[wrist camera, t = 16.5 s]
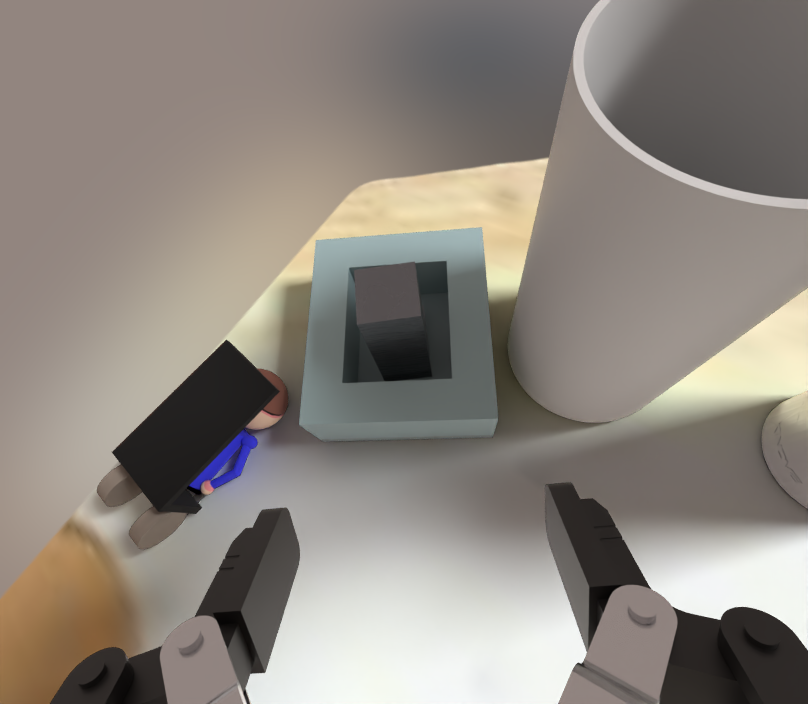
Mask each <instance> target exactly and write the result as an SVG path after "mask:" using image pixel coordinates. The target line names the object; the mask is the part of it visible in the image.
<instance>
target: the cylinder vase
mask: <svg viewBox="0 0 808 704" xmlns="http://www.w3.org/2000/svg"><path fill="white" fill-rule="evenodd" d="M807 288H808V0H600V1H599V2H598V3H597V4H596V5H595V7H594V8H593V9H592V10H591V12H590V13H589V14H588V16H587V17H586V19H585V21H584V22H583V24H582V26H581V28H580V30H579V33H578V36H577V39H576V43H575V47H574V51H573V55H572V60H571V65H570V69H569V73H568V77H567V82H566V86H565V90H564V95H563V99H562V103H561V108H560V112H559V117H558V121H557V125H556V130H555V134H554V139H553V143H552V147H551V152H550V156H549V160H548V165H547V169H546V173H545V178H544V182H543V187H542V191H541V195H540V200H539V204H538V208H537V213H536V217H535V221H534V226H533V230H532V235H531V239H530V243H529V248H528V252H527V256H526V261H525V265H524V270H523V274H522V278H521V283H520V287H519V291H518V296H517V300H516V305H515V309H514V313H513V318H512V322H511V326H510V331H509V336H508V356H509V361H510V364H511V367H512V370H513V372H514V375H515V377H516V378H517V380H518V382H519V383H520V385H521V386H522V388H523V389H524V390H525V391H526V392H527V394H528V395H529V396H530V397H531V398H532V399H534V400H535V401H536V402H537V403H538V404H540V405H541V406H543V407H544V408H546V409H547V410H549V411H551V412H553V413H555V414H557V415H559V416H562V417H565V418H568V419H571V420H575V421H581V422H590V423H600V422H609V421H614V420H618V419H622V418H624V417H627V416H629V415H631V414H633V413H635V412H637V411H639V410H640V409H642V408H643V407H644V406H646V405H647V404H648V403H650V402H651V401H653V400H654V399H655V398H657V397H658V396H659V395H661V394H662V393H664V392H665V391H666V390H668V389H669V388H670V387H672V386H673V385H675V384H676V383H677V382H679V381H680V380H681V379H683V378H684V377H686V376H687V375H688V374H690V373H691V372H693V371H694V370H695V369H697V368H698V367H699V366H701V365H702V364H704V363H705V362H706V361H708V360H709V359H710V358H712V357H713V356H715V355H716V354H717V353H719V352H720V351H721V350H723V349H724V348H726V347H727V346H728V345H730V344H731V343H732V342H734V341H735V340H737V339H738V338H739V337H741V336H742V335H743V334H745V333H746V332H748V331H749V330H750V329H752V328H753V327H754V326H756V325H757V324H759V323H760V322H761V321H763V320H764V319H765V318H767V317H768V316H770V315H771V314H772V313H774V312H775V311H776V310H778V309H779V308H781V307H782V306H783V305H785V304H786V303H787V302H789V301H790V300H792V299H793V298H794V297H796V296H797V295H798V294H800V293H801V292H803V291H804V290H805V289H807Z"/></svg>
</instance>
